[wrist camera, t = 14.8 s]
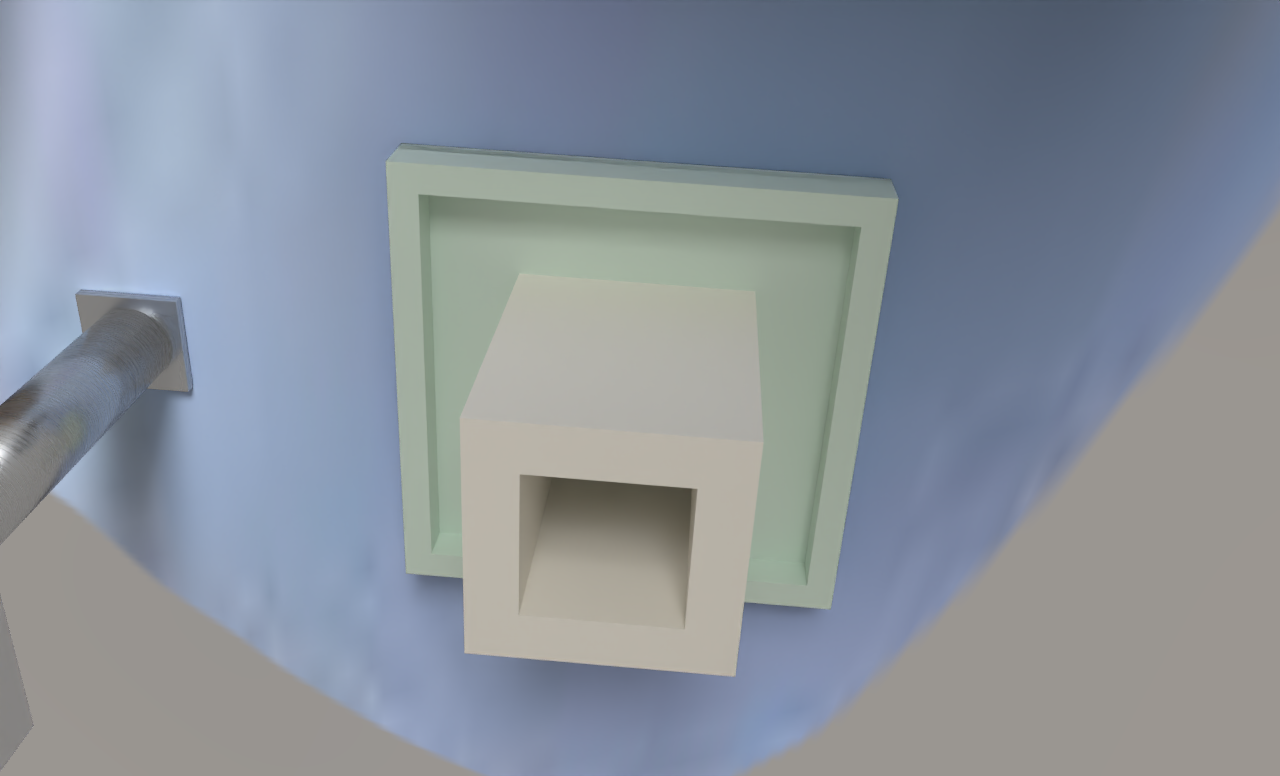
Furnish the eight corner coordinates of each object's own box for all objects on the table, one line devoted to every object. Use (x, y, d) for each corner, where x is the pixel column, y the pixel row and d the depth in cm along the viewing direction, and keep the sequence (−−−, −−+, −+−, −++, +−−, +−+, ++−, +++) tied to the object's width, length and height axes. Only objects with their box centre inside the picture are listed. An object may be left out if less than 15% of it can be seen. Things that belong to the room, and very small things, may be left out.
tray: (401, 143, 38) (385, 161, 37) (890, 179, 38) (898, 199, 36) (418, 542, 46) (406, 573, 44) (826, 576, 45) (830, 609, 44)
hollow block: (519, 273, 40) (459, 417, 31) (755, 291, 39) (763, 442, 30) (518, 473, 43) (464, 653, 34) (733, 491, 43) (735, 676, 34)
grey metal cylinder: (80, 289, 42) (-128, 457, 31) (180, 297, 41) (3, 468, 31) (97, 379, 43) (-96, 565, 33) (193, 386, 43) (29, 575, 33)
